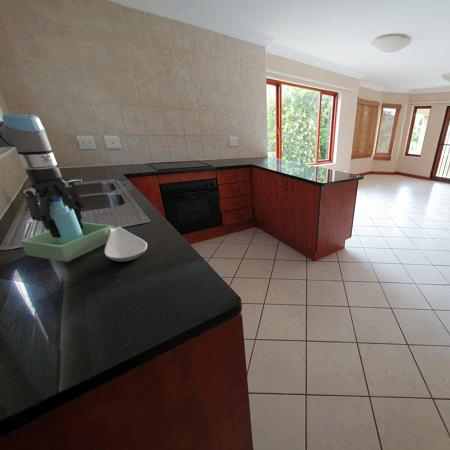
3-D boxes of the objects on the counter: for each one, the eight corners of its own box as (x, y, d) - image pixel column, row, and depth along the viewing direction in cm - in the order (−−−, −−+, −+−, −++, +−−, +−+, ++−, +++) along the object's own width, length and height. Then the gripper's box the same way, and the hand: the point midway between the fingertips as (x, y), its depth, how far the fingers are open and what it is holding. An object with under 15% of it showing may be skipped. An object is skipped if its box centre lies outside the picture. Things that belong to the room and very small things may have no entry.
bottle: (56, 248, 84) (34, 199, 77) (76, 239, 90) (58, 193, 83) (70, 250, 83) (50, 201, 75) (90, 241, 89) (73, 195, 82)
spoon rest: (154, 257, 82) (149, 238, 79) (113, 271, 73) (106, 251, 71) (132, 235, 96) (127, 219, 93) (96, 245, 88) (89, 228, 85)
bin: (27, 256, 81) (19, 240, 78) (81, 235, 96) (76, 221, 94) (67, 263, 77) (60, 246, 75) (117, 239, 93) (112, 225, 90)
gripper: (9, 174, 66) (43, 246, 75) (83, 163, 83) (103, 223, 93) (-10, 172, 67) (26, 243, 76) (67, 162, 85) (88, 221, 94)
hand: (68, 232), depth 84 cm, fingers closed on bottle, 7 cm apart
